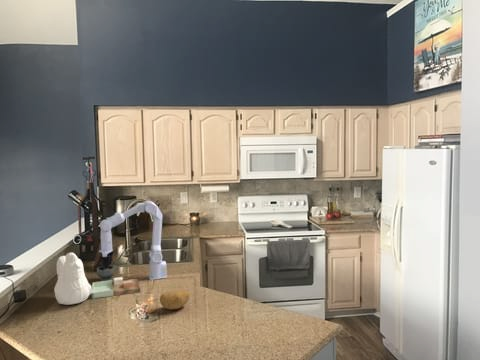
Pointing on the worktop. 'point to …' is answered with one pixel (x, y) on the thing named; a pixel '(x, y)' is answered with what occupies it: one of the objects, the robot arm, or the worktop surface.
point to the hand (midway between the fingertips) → (107, 266)
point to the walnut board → (120, 290)
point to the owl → (98, 261)
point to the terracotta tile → (127, 283)
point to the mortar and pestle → (105, 273)
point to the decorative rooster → (71, 281)
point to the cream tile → (118, 280)
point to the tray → (102, 289)
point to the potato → (174, 299)
